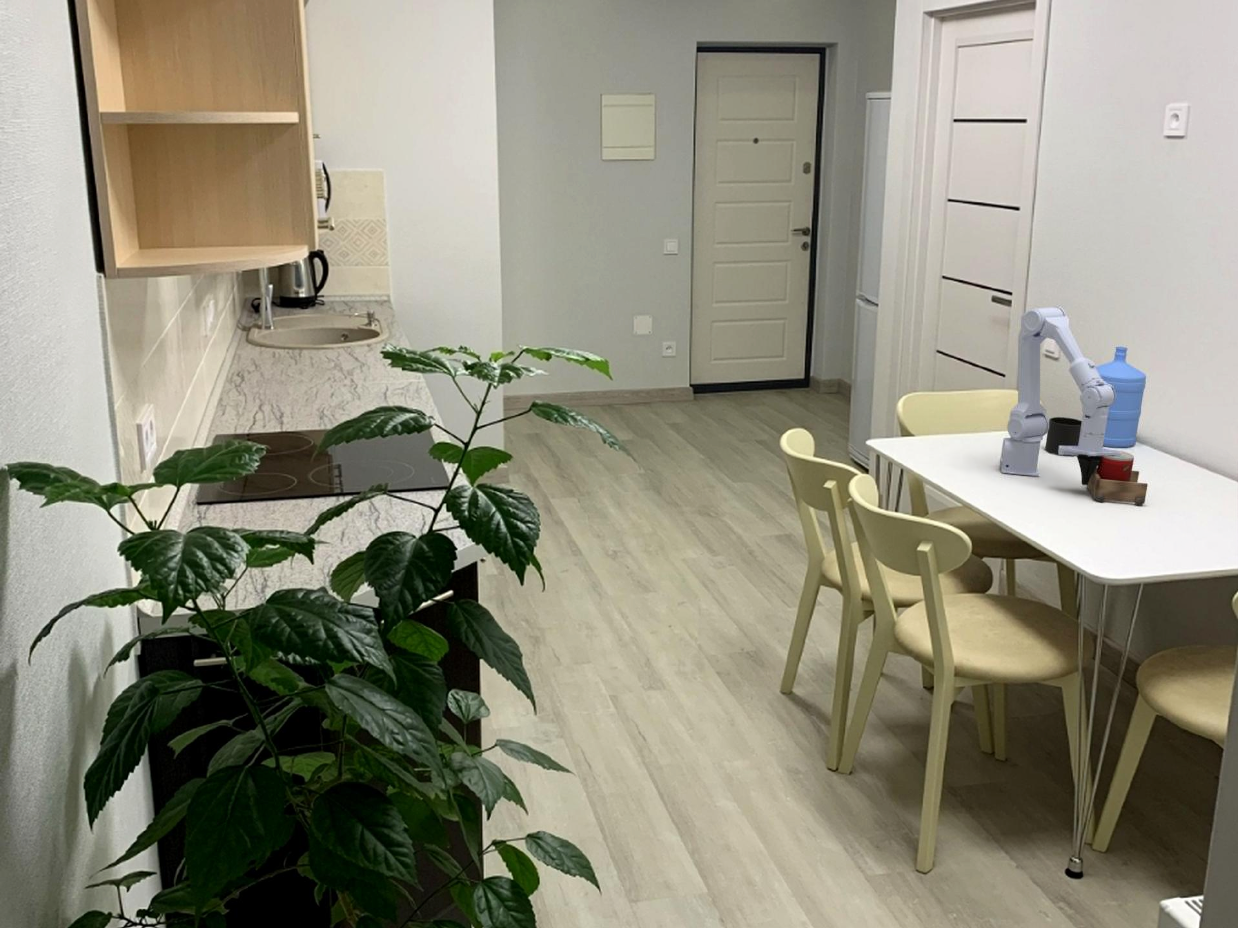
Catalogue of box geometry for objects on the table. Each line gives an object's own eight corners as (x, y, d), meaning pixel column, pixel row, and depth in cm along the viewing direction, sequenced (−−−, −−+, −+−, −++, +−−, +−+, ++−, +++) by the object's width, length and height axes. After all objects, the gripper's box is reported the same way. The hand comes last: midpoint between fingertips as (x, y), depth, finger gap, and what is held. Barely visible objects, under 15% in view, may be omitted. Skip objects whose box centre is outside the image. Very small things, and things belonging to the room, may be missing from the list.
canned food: (1124, 502, 295) (1131, 460, 292) (1090, 496, 299) (1097, 454, 296) (1129, 495, 302) (1136, 453, 298) (1096, 489, 306) (1103, 447, 302)
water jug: (1144, 449, 345) (1160, 354, 337) (1090, 447, 345) (1104, 352, 337) (1123, 435, 360) (1137, 343, 352) (1071, 433, 360) (1084, 341, 352)
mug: (1068, 445, 346) (1072, 415, 344) (1085, 457, 335) (1090, 425, 332) (1036, 444, 346) (1040, 414, 343) (1052, 456, 334) (1057, 425, 332)
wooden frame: (1094, 501, 295) (1097, 478, 293) (1086, 485, 308) (1089, 463, 306) (1144, 506, 293) (1148, 483, 291) (1134, 490, 305) (1138, 468, 304)
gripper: (1064, 433, 295) (1056, 485, 299) (1126, 438, 292) (1117, 491, 296) (1060, 426, 301) (1053, 477, 305) (1121, 431, 299) (1112, 483, 302)
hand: (1084, 484), depth 301 cm, fingers closed
